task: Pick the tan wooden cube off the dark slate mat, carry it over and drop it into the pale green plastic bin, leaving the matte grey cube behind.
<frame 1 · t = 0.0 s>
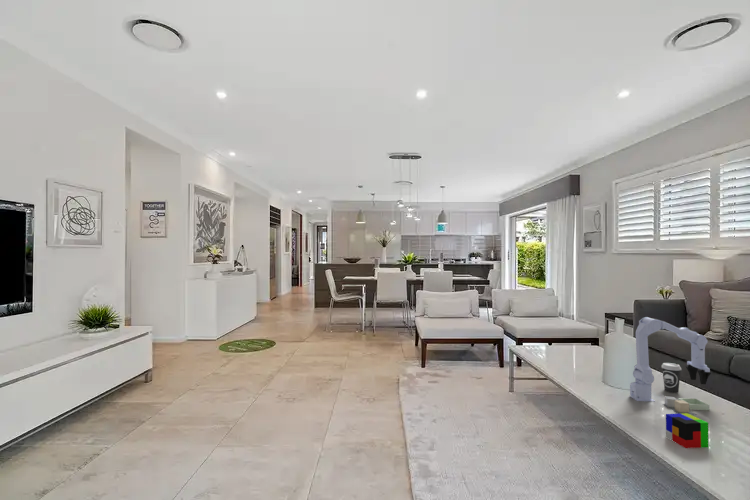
hand: (698, 381, 220), 10 cm above the table, fingers open, 7 cm apart
slate mat: (679, 410, 207), on the table
green bin: (693, 407, 211), on the table
tan wooden cube: (681, 410, 205), resting on slate mat
coffee cup: (671, 391, 237), on the table
puzzle toy: (686, 442, 172), on the table
matte grey cube: (670, 405, 212), resting on slate mat
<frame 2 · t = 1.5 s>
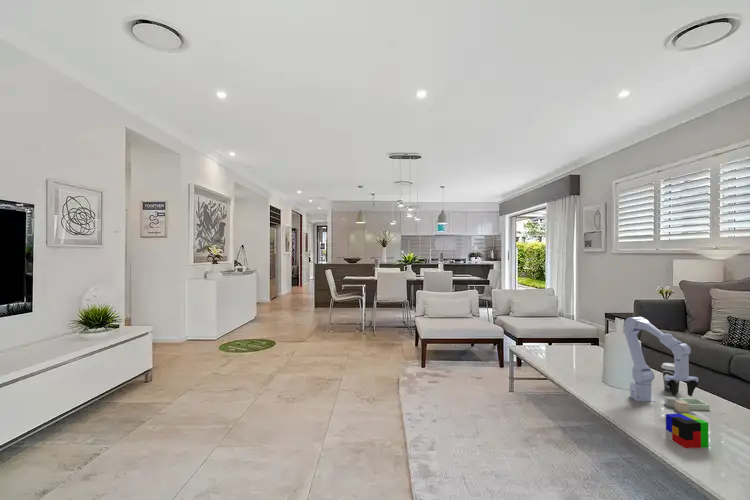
hand: (681, 395, 205), 8 cm above the table, fingers open, 7 cm apart
nothing on the table moved.
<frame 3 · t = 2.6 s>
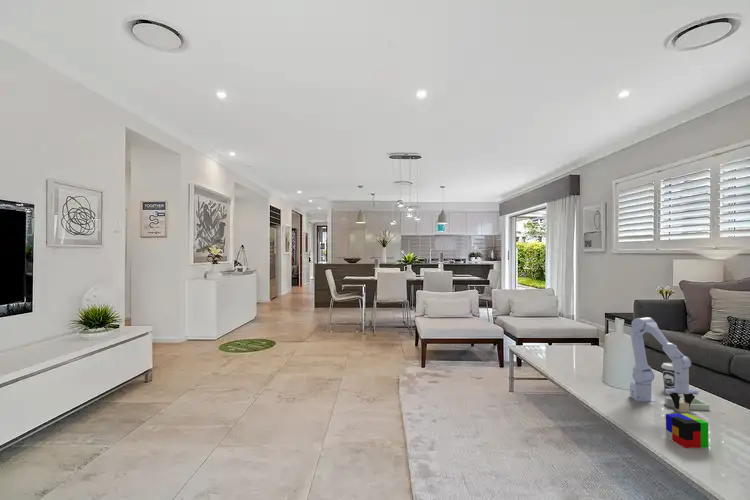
hand: (681, 408, 205), 2 cm above the table, fingers closed on tan wooden cube, 4 cm apart
tan wooden cube: (681, 410, 205), resting on slate mat, touching gripper
everything else where it was.
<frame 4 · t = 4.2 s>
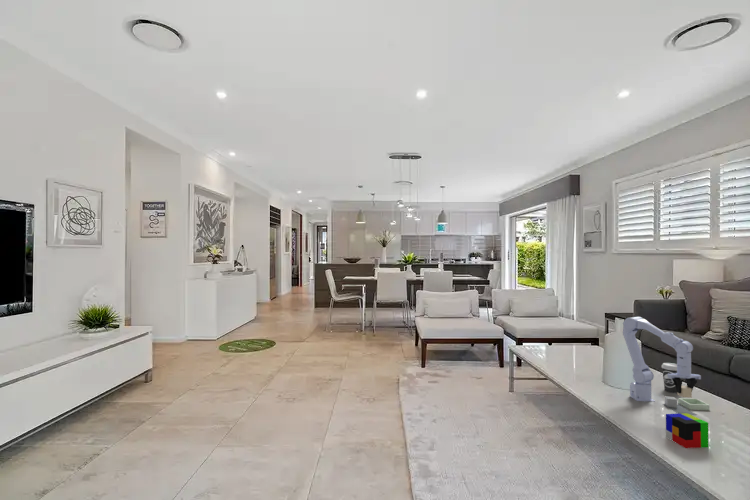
hand: (684, 392, 206), 9 cm above the table, fingers closed on tan wooden cube, 4 cm apart
tan wooden cube: (684, 396, 206), point 7 cm above the table, touching gripper
everything else where it was.
when the fingers open (4 cm above the table, at t = 6.0 s): tan wooden cube drops 2 cm, resting on green bin.
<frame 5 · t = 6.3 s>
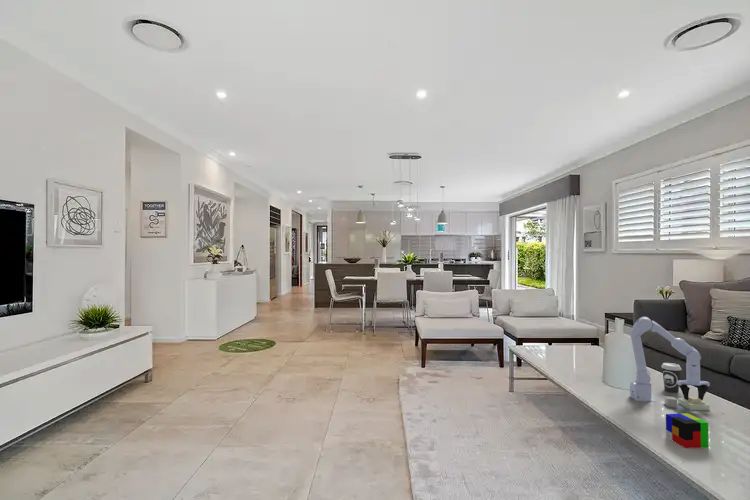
hand: (693, 399, 211), 4 cm above the table, fingers open, 6 cm apart
tan wooden cube: (693, 406, 211), resting on green bin
everything else where it was.
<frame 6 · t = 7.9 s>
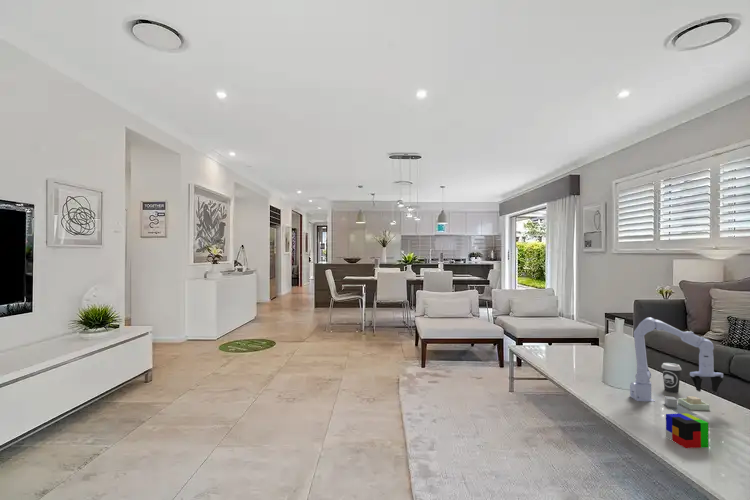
hand: (706, 391, 206), 10 cm above the table, fingers open, 7 cm apart
nothing on the table moved.
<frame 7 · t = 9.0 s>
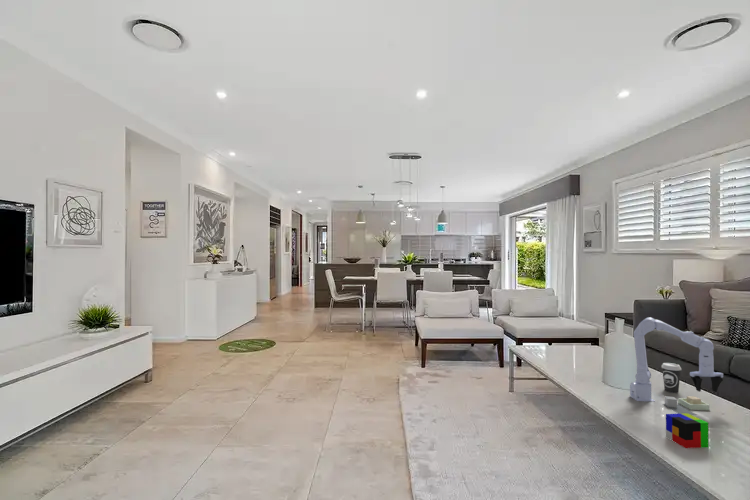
hand: (706, 391, 206), 10 cm above the table, fingers open, 7 cm apart
nothing on the table moved.
at the end: tan wooden cube inside the target area on the green bin (0.3 cm from its centre), point 0.4 cm above the green bin's base; the gripper is holding nothing; matte grey cube moved 0.0 cm from its start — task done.
